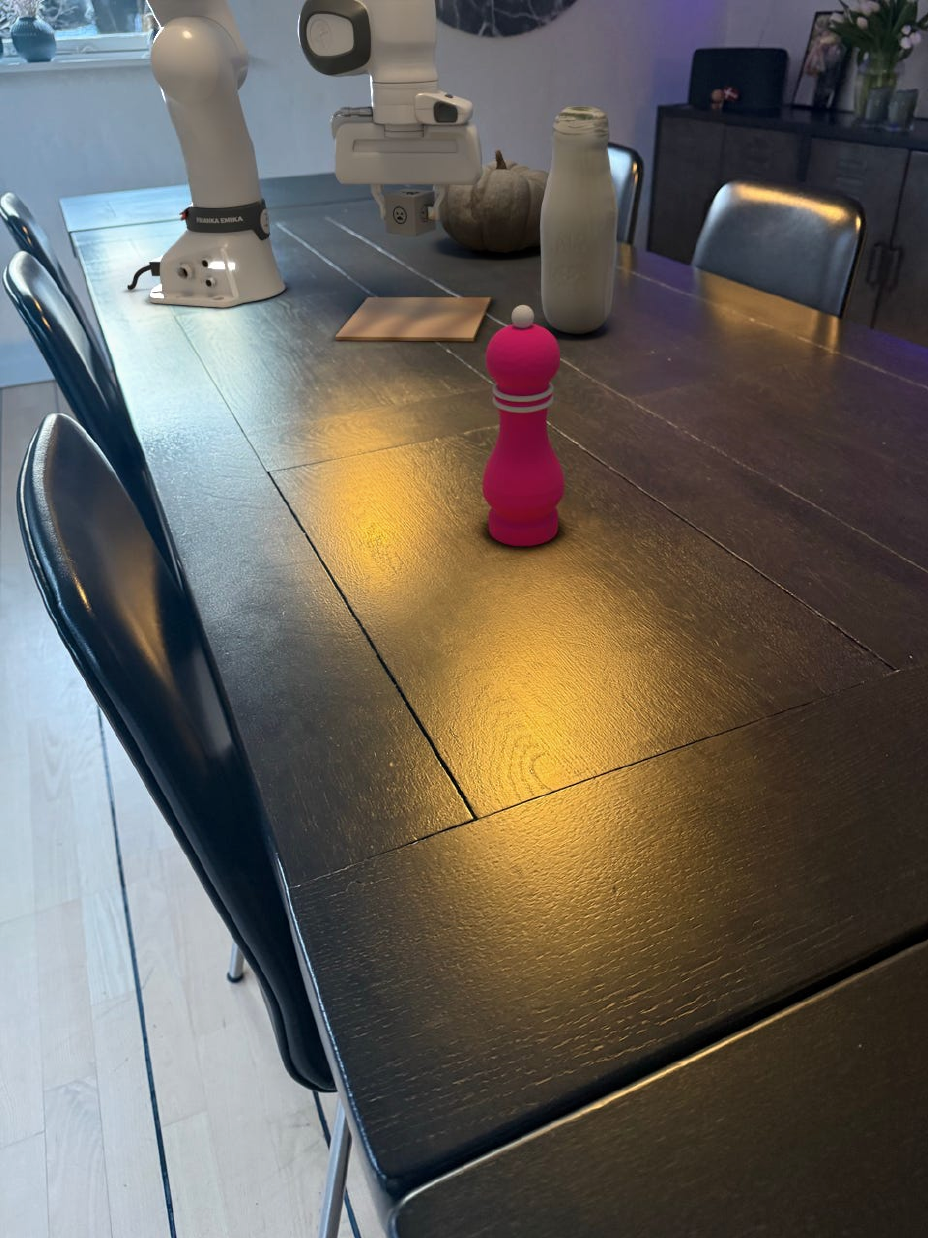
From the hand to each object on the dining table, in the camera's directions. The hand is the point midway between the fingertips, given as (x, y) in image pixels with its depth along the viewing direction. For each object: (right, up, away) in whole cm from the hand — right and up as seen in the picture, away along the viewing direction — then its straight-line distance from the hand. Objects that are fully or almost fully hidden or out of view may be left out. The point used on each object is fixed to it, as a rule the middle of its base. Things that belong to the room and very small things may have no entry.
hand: (411, 218), depth 126 cm
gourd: (+14, +15, +46) cm, 51 cm away
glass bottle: (+23, -15, +2) cm, 28 cm away
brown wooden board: (0, -11, +9) cm, 14 cm away
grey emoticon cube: (0, -1, +1) cm, 2 cm away
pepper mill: (+13, -48, -45) cm, 67 cm away
